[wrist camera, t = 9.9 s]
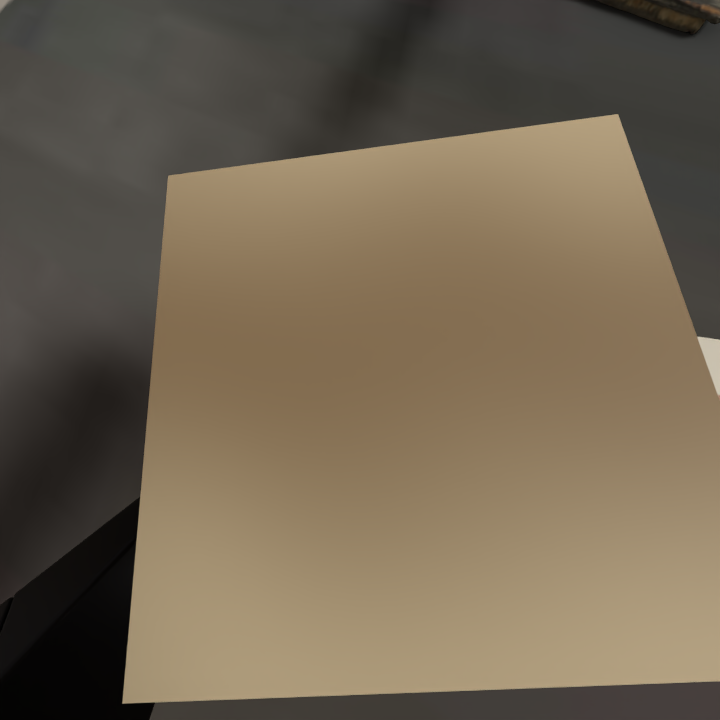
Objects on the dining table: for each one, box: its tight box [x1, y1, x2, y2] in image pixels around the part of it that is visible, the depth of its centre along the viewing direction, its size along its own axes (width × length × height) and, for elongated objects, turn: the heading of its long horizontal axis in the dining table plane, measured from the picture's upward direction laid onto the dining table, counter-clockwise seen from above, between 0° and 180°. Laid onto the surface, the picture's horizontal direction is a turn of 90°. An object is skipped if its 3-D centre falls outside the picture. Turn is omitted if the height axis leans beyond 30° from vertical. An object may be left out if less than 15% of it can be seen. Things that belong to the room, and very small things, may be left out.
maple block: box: [122, 114, 720, 704], centre depth 10 cm, size 5×5×13 cm
